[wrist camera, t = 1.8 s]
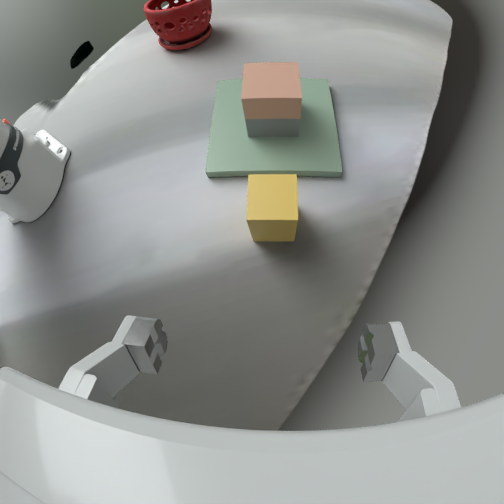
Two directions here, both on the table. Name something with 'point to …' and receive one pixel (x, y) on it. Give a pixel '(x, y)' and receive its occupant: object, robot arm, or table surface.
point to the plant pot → (180, 22)
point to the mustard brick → (272, 206)
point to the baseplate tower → (273, 125)
